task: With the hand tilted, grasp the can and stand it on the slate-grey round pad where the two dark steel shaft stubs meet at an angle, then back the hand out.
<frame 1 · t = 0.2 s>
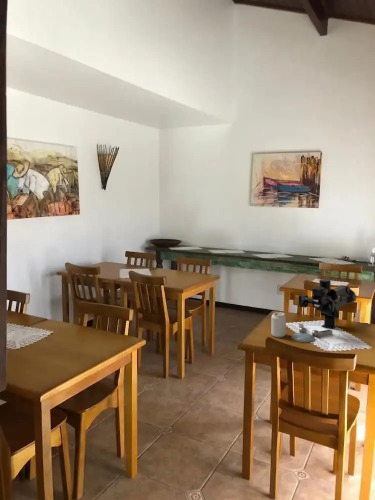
hand: (308, 307, 207), 17 cm above the table, tool horizontal, fingers open, 9 cm apart
can: (278, 335, 216), on the table
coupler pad: (303, 338, 211), on the table
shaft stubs: (311, 330, 218), on the table
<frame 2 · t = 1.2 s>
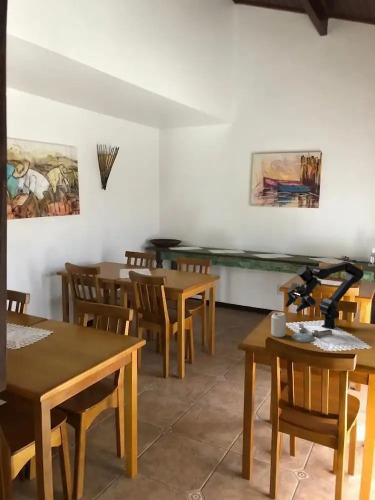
hand: (291, 309, 217), 13 cm above the table, tool tilted 45°, fingers open, 9 cm apart
nothing on the table moved.
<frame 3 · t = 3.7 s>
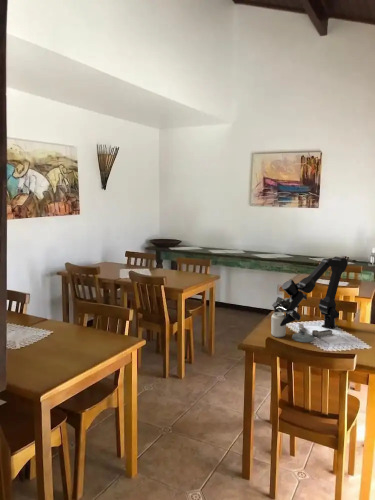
hand: (276, 323, 214), 7 cm above the table, tool tilted 45°, fingers closed on can, 7 cm apart
can: (278, 335, 216), on the table, touching gripper
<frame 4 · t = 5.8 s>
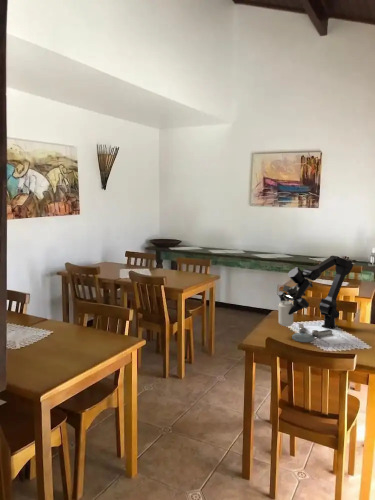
hand: (283, 312, 211), 13 cm above the table, tool tilted 45°, fingers closed on can, 7 cm apart
can: (285, 324, 213), point 6 cm above the table, touching gripper
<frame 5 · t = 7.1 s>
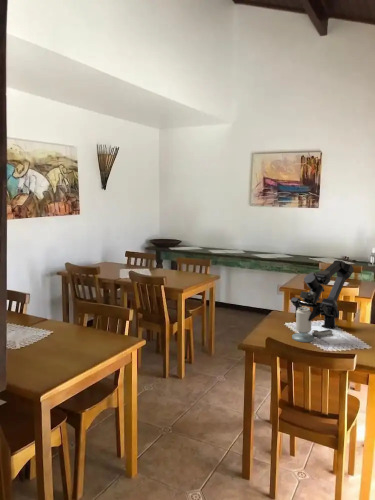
hand: (302, 319, 208), 11 cm above the table, tool tilted 45°, fingers closed on can, 7 cm apart
can: (303, 331, 210), point 4 cm above the table, touching gripper
when the fingers open (9 cm above the table, at t = 8.1 s): can drops 1 cm, resting on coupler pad.
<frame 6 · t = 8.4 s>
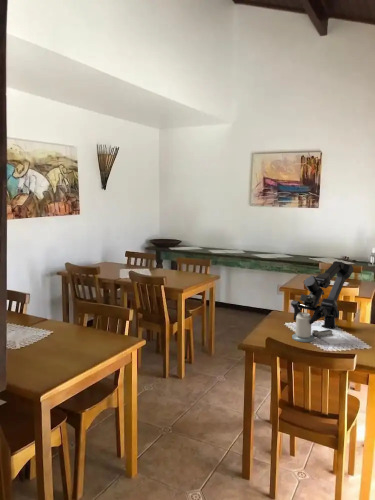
hand: (301, 322, 209), 9 cm above the table, tool tilted 45°, fingers open, 9 cm apart
can: (303, 336, 211), point 1 cm above the table, touching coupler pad
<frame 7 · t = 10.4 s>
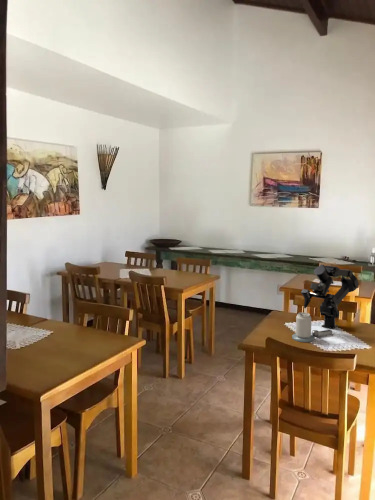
hand: (312, 309, 214), 14 cm above the table, tool tilted 45°, fingers open, 9 cm apart
nothing on the table moved.
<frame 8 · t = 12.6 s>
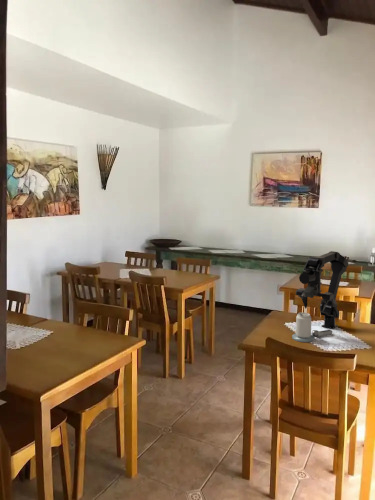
hand: (314, 309, 216), 13 cm above the table, tool pointing down, fingers open, 9 cm apart
nothing on the table moved.
at the end: can 0.2 cm off-centre on the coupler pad, point 0.8 cm above the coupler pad's base; can tilted 0°; the gripper is holding nothing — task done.
